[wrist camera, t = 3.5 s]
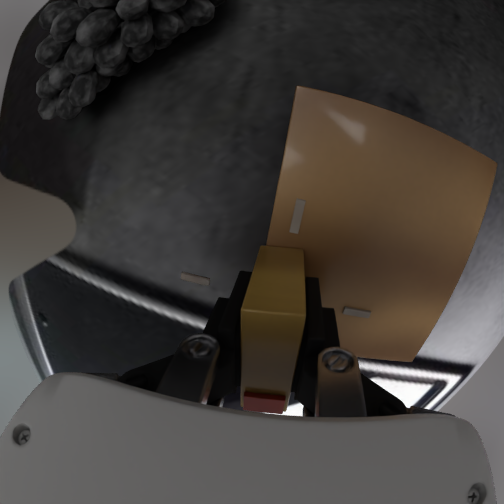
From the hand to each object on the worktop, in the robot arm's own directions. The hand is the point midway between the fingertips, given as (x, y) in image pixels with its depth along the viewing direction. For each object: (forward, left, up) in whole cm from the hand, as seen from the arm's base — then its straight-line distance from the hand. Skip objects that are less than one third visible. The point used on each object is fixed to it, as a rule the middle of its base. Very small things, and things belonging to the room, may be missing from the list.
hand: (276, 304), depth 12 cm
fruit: (-13, -12, -6) cm, 19 cm away
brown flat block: (-2, +2, -6) cm, 6 cm away
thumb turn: (0, 0, -1) cm, 1 cm away
